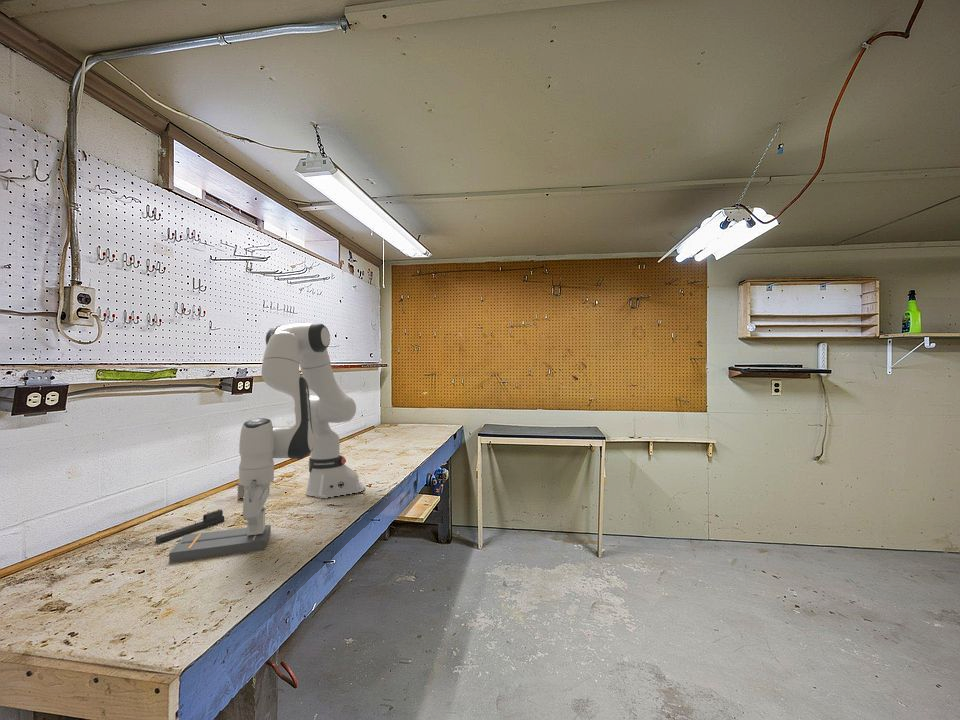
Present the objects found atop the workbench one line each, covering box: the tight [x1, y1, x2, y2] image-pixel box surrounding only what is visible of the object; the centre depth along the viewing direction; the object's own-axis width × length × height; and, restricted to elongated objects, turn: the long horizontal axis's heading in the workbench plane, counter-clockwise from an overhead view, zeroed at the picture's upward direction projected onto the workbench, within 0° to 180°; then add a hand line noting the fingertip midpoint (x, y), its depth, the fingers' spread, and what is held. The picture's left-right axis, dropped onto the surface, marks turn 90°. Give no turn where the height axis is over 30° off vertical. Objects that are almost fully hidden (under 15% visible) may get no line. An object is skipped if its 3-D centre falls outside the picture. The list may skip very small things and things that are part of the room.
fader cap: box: [246, 507, 266, 536], centre depth 118 cm, size 4×4×6 cm
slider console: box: [168, 524, 272, 563], centre depth 115 cm, size 22×12×3 cm, turn 110°
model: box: [237, 480, 245, 500], centre depth 160 cm, size 3×11×8 cm, turn 154°
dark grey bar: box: [155, 508, 225, 545], centre depth 126 cm, size 19×3×4 cm, turn 155°
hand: (256, 524), depth 118 cm, fingers open, 8 cm apart
